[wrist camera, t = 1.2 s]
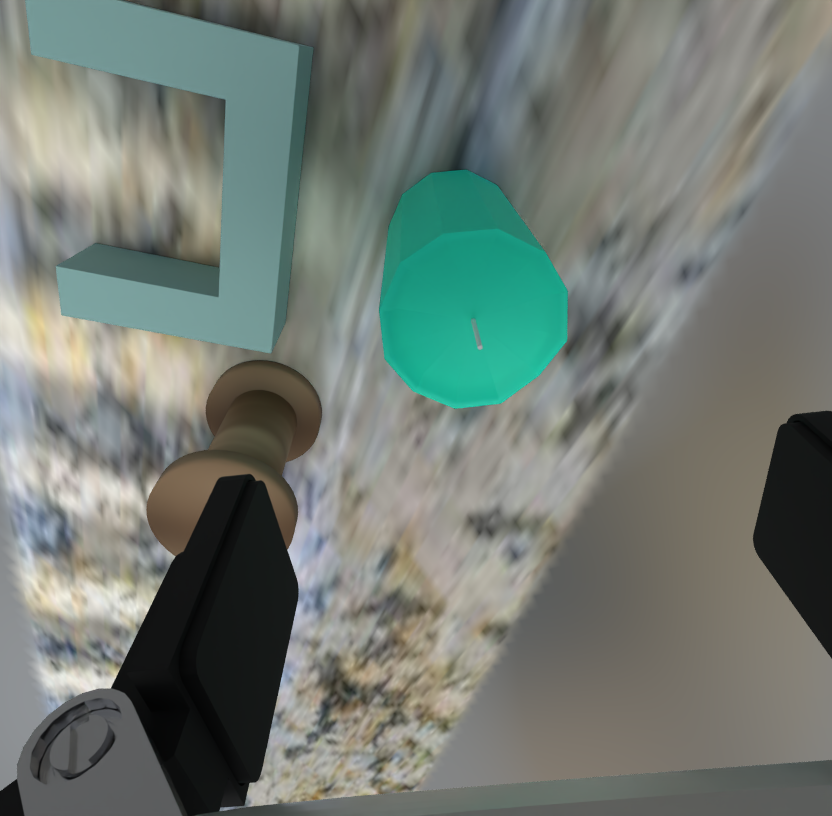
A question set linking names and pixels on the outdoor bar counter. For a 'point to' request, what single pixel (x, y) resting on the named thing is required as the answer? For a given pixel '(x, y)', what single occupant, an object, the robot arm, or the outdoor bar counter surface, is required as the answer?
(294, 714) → the outdoor bar counter surface
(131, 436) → the outdoor bar counter surface
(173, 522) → the bobbin
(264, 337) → the notch board
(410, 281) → the candle
